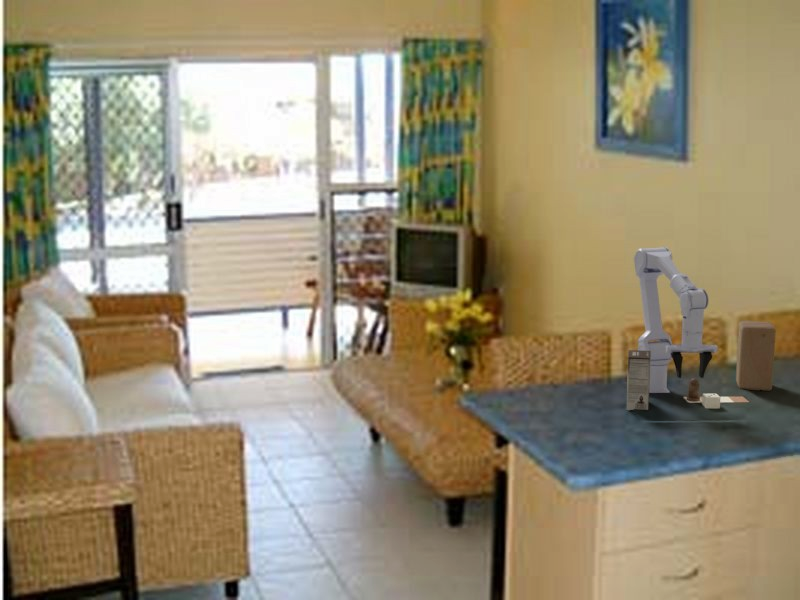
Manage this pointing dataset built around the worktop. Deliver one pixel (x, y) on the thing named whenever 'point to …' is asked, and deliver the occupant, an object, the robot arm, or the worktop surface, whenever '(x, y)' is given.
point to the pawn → (693, 390)
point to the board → (722, 399)
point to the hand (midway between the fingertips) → (690, 377)
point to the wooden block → (755, 355)
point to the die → (711, 401)
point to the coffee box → (638, 379)
